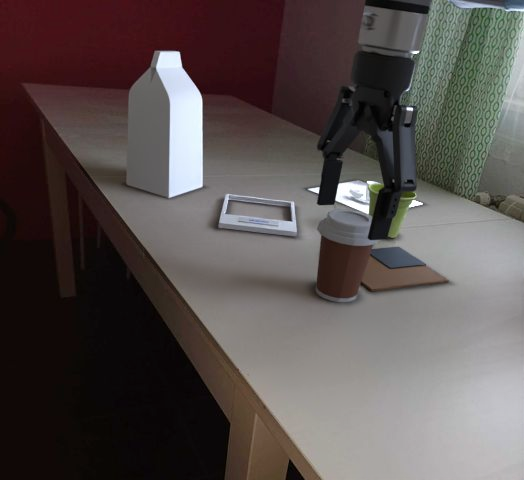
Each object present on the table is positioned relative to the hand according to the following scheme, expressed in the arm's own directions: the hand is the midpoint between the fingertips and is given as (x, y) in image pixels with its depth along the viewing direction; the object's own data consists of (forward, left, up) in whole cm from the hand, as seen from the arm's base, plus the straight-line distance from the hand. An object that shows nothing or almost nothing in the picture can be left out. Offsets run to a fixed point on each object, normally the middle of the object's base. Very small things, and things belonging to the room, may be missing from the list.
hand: (349, 220), depth 77 cm
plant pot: (+21, -24, -12) cm, 34 cm away
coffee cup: (0, 0, -12) cm, 12 cm away
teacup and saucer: (+43, -35, -12) cm, 57 cm away
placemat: (+6, -14, -11) cm, 19 cm away
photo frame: (+33, -2, -12) cm, 35 cm away
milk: (+54, +11, -12) cm, 56 cm away
